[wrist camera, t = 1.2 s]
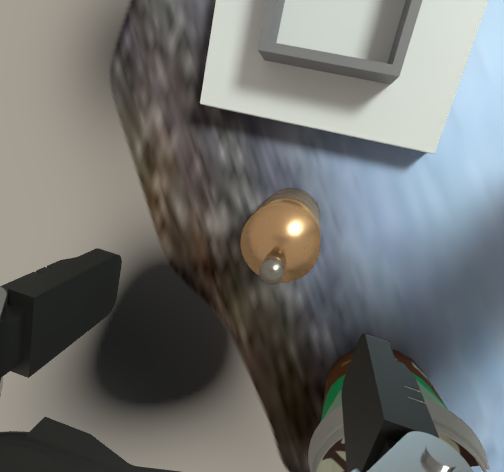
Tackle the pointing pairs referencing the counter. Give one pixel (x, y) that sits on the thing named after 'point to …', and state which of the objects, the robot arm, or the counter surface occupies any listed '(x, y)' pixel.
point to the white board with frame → (343, 64)
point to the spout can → (283, 237)
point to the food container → (332, 429)
